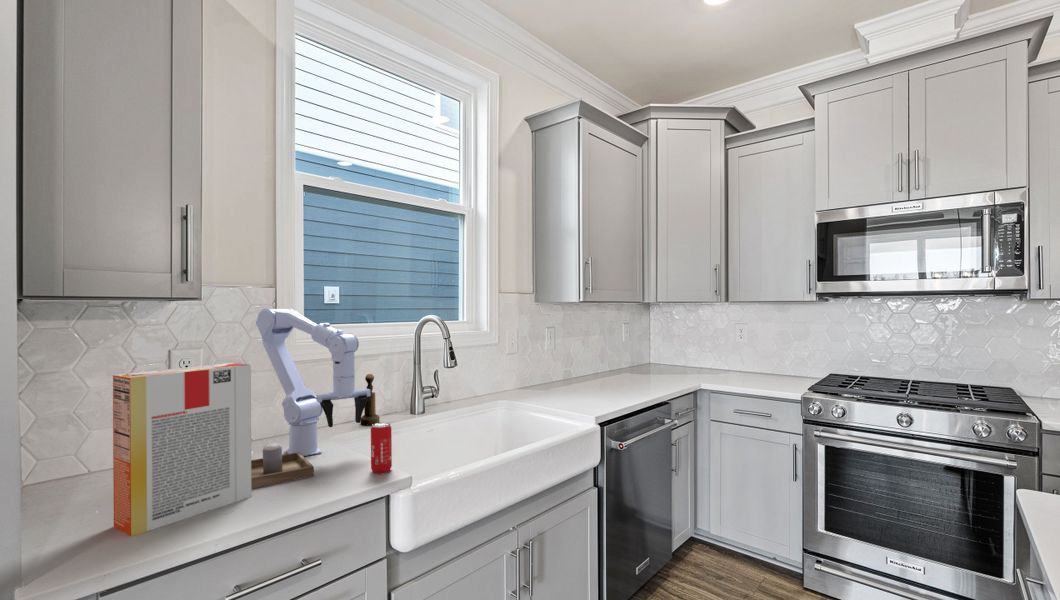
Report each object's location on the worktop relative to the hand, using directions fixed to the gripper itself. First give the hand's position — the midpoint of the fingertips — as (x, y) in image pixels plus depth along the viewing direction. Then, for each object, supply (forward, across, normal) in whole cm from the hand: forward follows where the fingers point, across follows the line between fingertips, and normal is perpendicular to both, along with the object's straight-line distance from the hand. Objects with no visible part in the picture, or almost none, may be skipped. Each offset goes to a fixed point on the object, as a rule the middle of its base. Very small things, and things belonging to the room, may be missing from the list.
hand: (344, 424), depth 145 cm
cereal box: (+10, -38, -17) cm, 43 cm away
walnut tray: (+9, -19, -3) cm, 21 cm away
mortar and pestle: (+10, +20, +36) cm, 42 cm away
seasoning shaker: (+9, -19, -3) cm, 21 cm away
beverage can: (+10, +4, -18) cm, 21 cm away
